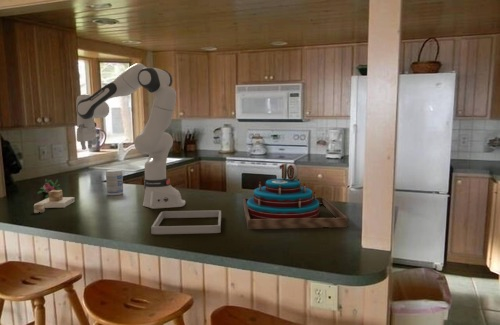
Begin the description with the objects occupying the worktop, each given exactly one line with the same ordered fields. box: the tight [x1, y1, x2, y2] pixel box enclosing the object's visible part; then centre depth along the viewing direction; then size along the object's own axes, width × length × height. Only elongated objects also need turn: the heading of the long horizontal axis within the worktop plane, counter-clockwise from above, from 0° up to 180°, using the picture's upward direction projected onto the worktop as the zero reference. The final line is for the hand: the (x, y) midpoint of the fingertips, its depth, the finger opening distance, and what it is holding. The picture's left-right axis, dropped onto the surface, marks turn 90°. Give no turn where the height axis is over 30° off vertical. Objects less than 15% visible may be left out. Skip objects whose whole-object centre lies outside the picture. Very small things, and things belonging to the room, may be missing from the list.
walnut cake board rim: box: [242, 196, 349, 230], centre depth 188 cm, size 43×43×4 cm
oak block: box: [48, 189, 64, 201], centre depth 211 cm, size 5×5×5 cm
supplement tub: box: [105, 169, 124, 196], centre depth 238 cm, size 10×10×15 cm
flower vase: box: [37, 178, 62, 199], centre depth 235 cm, size 12×12×35 cm
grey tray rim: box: [150, 210, 222, 235], centre depth 172 cm, size 28×26×3 cm
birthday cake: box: [247, 162, 320, 219], centre depth 190 cm, size 35×35×24 cm
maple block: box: [33, 202, 46, 214], centre depth 196 cm, size 4×4×4 cm
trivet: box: [37, 196, 76, 209], centre depth 211 cm, size 14×14×2 cm
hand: (87, 148), depth 220 cm, fingers open, 8 cm apart
